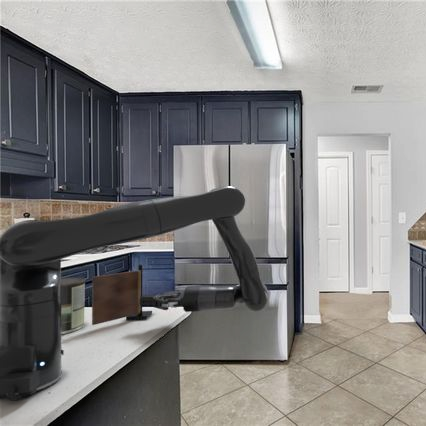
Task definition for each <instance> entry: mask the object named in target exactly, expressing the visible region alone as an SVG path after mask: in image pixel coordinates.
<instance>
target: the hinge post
mask: <svg viewBox="0 0 426 426" xmlns="http://www.w3.org/2000/svg"><path fill="white" fill-rule="evenodd" d="M137 267H138V268H137V270H141V297H142V296H143V281H144V280H143V278H144V277H143V267H144V265H143V264H138V266H137ZM152 315H153V310H143V305H140V314H136V315H132V316H128V317H125V321H145V320H148V319H149V318H150V317H151V316H152Z"/></svg>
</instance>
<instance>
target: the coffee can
mask: <svg viewBox="0 0 426 426" xmlns="http://www.w3.org/2000/svg"><path fill="white" fill-rule="evenodd" d="M61 282H62V303H61V335H66V334H70V333H73V332H76V331H78V330H80V329H82V328H84V327H85V325H86V323H85V306H86V305H85V301H86V299H85V298H86V296H85V293H86V278H84V277H61Z"/></svg>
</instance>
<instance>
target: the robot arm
mask: <svg viewBox="0 0 426 426" xmlns="http://www.w3.org/2000/svg"><path fill="white" fill-rule="evenodd" d="M245 205H246V197H245V195H244V193H243V192H242V191H241V190H240V189H238V188H237V187H234V186H230V185H224V186H220V187H215V188H212V189H211V190H210V191H205V192H202V193H198V194H193V195H180V196H178V195H177V196H168V197H159V198H149V199H145V200H138V201H134V202H129V203H124V204H120V205H117V206H113V207H110V208H107V209H104V210H101V211H98V212H95V213H91V214H87V215H82V216H77V217H75V216H74V217H67V218H59V219H50V220H37V219H27V220H22V221H18V222H16V223H14V224H11V225H10V226H9V227H7V228H6V229H5V230H4V231H2V233H1V235H0V399H2V398H3V399H4V398H7V399H8V400H9V401H20V400H21V399H22V398H23V397H27V396H28V397H29V396H33V395H34V394H35V393H37V392H39V391H41V390H44V389H46V388H48V387H50V386H52V385H53V384H56V383H57V382H58V381H59V380H60V379H61V378H62V377H63V370H62V356H64V353H65V352H64V350H63V349H62V334H61V303H62V282H61V278H62V262H61V261H62V260H64V259H67V258H69V257H72V256H75V255H78V254H82V253H85V252H88V251H91V250H96V249H99V248H104V247H111V246H117V245H122V244H128V243H132V242H137V241H143V240H146V239H150V238H154V237H158V236H161V235H165V234H168V233H172V232H174V231H175V232H176V231H178V230H181V229H184V228H187V227H189V226H193V225H195V224H198V223H202V222H206V221H212V222H213V224H214V226H215V228H216V230H217V232H218V234H219V236H220V238H221V240H222V242H223V244H224V246H225V248H226V251H227V254H228V256H229V258H230V261H231V264H232V267H233V269H234V273H235V275H236V278H237V279H238V283H239V284H236V285H218V286H217V285H188V286H186V287H185V289H184V291H182V292H181V290H180V289H175V290H171V291H166V292H165V291H164V292H160V293H159V294H155V295H142V297H141V298H140V305H142V306H147V305H148V306H149V305H152V307H153V308H155V309H159V310H163V311H168V310H169V308H171V309H173V308H175V309H176V308H179V307H182V308H183V311H184V312H187V313H192V312H210V311H218V310H219V311H221V310H231V309H234V308H236V307H237V306H238V305H241V304H244V306H245V307H246V308H247V310H249V311H251V312H252V313H253V312H254V313H259V312H261V311H263V310H265V308H266V306H267V305H268V301H269V300H268V299H269V298H268V297H269V296H268V293H269V292H268V289H267V286H266V285H265V284H263V282H262V279H261V272H260V268H259V265H258V262H257V259H256V256H255V253H254V251H253V249H252V247H251V245H250V244H249V242H248V241H247V240H246V238H245V237H244V235H243V234H242V232H241V230H240V229H239V226H238V224H237V221H236V216H238V215H239V214H240V213H242V211H243V210H244V208H245Z"/></svg>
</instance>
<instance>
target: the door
mask: <svg viewBox="0 0 426 426" xmlns="http://www.w3.org/2000/svg"><path fill="white" fill-rule="evenodd" d="M91 295H92V296H91V325H92V326H95V325H100V324H103V323H107V322H111V321H115V320H121V319H125V318H126V317H128V316H132V315H136V314H140V298H141V270H138V269H137V270H131V271H124V272H119V273H118V272H117V273H116V272H115V273H110V274H109V273H108V274H103V275H96V276H92V277H91Z"/></svg>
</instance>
